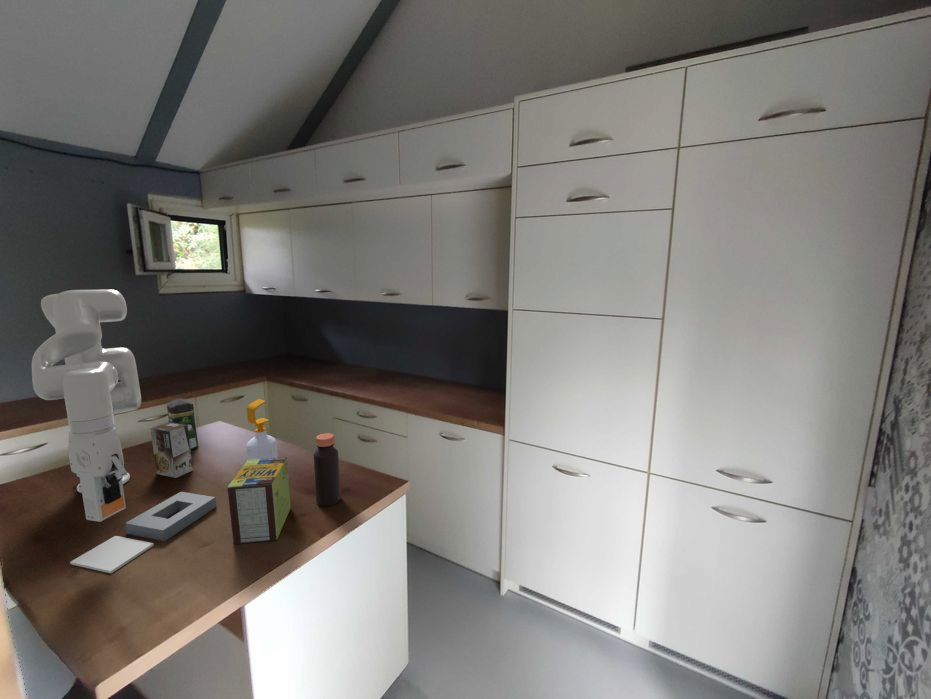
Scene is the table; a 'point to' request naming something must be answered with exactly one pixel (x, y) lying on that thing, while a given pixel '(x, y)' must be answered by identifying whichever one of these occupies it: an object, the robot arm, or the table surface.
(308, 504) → the table surface
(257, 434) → the soap bottle
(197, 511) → the slotted board
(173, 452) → the coffee box
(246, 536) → the protein box
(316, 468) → the vinegar
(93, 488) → the skincare box
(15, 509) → the table surface
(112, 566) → the white flat plate
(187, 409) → the coffee jar
